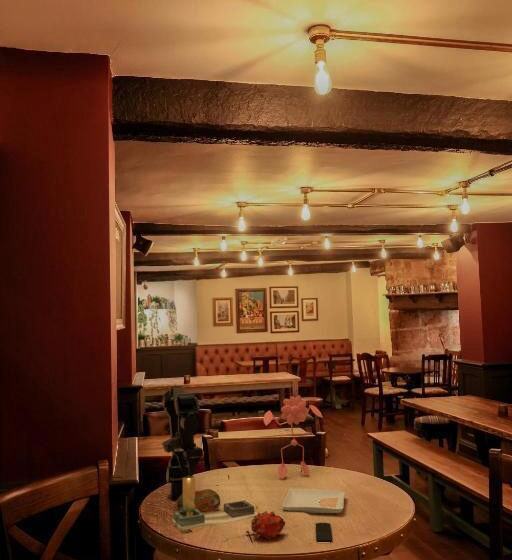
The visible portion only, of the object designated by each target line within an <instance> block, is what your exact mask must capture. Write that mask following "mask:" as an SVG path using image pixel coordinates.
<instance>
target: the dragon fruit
mask: <svg viewBox="0 0 512 560" xmlns="http://www.w3.org/2000/svg"><path fill="white" fill-rule="evenodd" d="M257 514H258V515H257V516H255V517H254V518H251V519H252V520H251V525H250V528H251V531H252V532H253V535H254V537H258V536H259V539H261V540H263V539H264V538H265V539H266V540H269V541H271V540H272V538H279V537H280V536H281V534H280V533H281V532H282V531H283V529H284V527H285V526H286V521H285V519H284V518H282V516H280V515H276V514H275V512H274V511H270V512H269V513H268V511H267V510H265V511H264V512H262V513H261V512H257Z"/></svg>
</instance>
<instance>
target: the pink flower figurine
mask: <svg viewBox="0 0 512 560" xmlns="http://www.w3.org/2000/svg"><path fill="white" fill-rule="evenodd" d="M283 405H284V406H282V407H281V409H280V411H281V412H282V413H281V416H280V417H281V419H282V420H285V419H286V421H285V422H282V423H280V422H279V421H278V420H277V418H276V417H275V416H274V415H273V413H272V411H271V410H268V411H266V412H265V413H264V415H263V423H264V425H265V426H266V427H267V426H268V425H270V423H271V422H272V420H275V422H276V423H277V424H278V425H279V426H282V425H286V424H288V425H290V427H291V428H290V429H291V433H292V437H293V439H291V441H290V443H289V444H287V445H286V446H284V447H282V448H281V449H280V453H281V463H280V464H279V466H278V468H277V470H278V475H279V477H280V479H281V480H283V479H284V478H286V476H287V474H288V473H287V472H288V467H287V465H286V464H285V463H284V459H283V458H284V457H283V449H286V448H287V447H289V446H293V447H296V446H297V445H298V446H300V447H302V461H300V467H301V468H300V473H302V474H303V473H304V474H305V475H306V476H307V475H309V476H310V469H309V467H308V465H307V464H306V462H305V461H304V460H305V459H304V458H305V454H304V453H305V452H304V451H305V448H304V447H305V446H303V445H301V444H299V443H298V441H297V440H296V438H295V434H294V429H293V424H295V425H299V424H300V422H303V423H304V422H305V421H306V419H307V416H308V413H309V411H310V410H311V412H312V413H313V414H314V415H316V416H317V417H319V418H321V419H323V415H322V412H321V411H320V410H319V408H318V407H317V406H315V405H314V404H309V406H308V407H306V406H307V401H306V400H302V397H301V395H297V396H296V397H294V396H292V395H291V396H290V397H289V398H285V399H283Z"/></svg>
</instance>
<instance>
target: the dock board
mask: <svg viewBox="0 0 512 560" xmlns="http://www.w3.org/2000/svg"><path fill="white" fill-rule="evenodd" d="M257 513H258V512H257V511H255V506H254V505H253V504H251V503H250V502H248V501H246V500H245V499H244V500H240V501H233V502H225V503H223V510H217V511H216V512H215V511H213V512H203V513H202V512H200V511H199V510H198V509H197V508H195V515H194V516H188V517H183V511H178V510H176V511H173V518H171V523H172V522H173V523H172V524H173V526H175V527H176V528H177V529H178V530H179V531H180V533H182V534H187V533H191V532H192V531H193V530H192V529H197V528H202V527H210V526H215V525H219V524H220V525H221V524H225V523H231V522H236V521H242V520H246V519H247V520H249V519H254V517H255V516H257V515H258V514H257ZM186 532H187V533H186Z"/></svg>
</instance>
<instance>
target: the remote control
mask: <svg viewBox="0 0 512 560" xmlns="http://www.w3.org/2000/svg"><path fill="white" fill-rule="evenodd" d="M315 526H316V527H315V542H316V541H317V542H330V543H329V544H332V543H333V534H332V525H331V523H329V522H317V523H315ZM317 542H316V543H317ZM331 542H332V543H331Z"/></svg>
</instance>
